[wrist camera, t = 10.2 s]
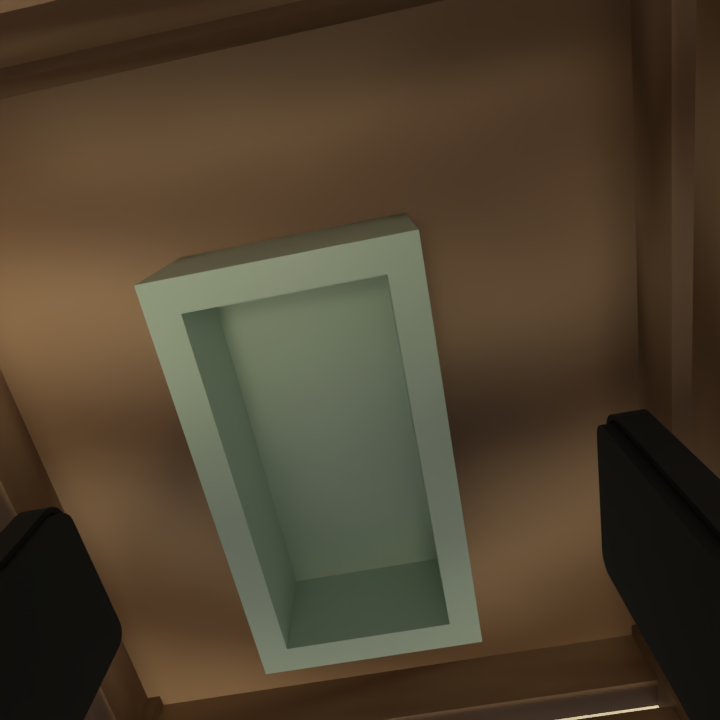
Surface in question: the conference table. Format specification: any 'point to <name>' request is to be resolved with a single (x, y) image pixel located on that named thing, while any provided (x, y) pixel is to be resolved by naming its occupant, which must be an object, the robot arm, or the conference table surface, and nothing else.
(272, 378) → the box
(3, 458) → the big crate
